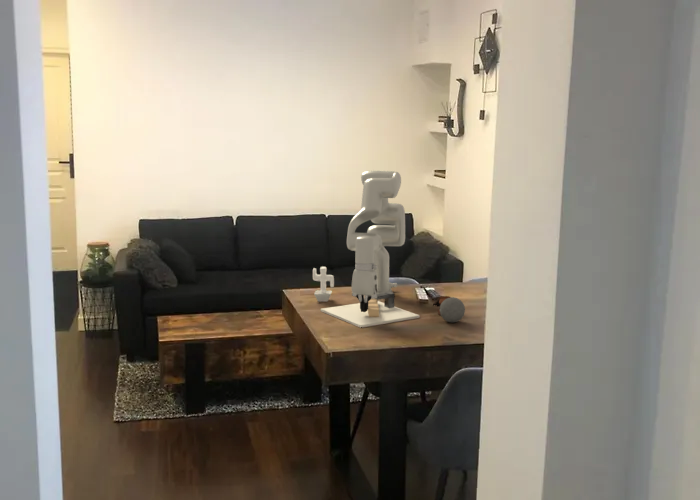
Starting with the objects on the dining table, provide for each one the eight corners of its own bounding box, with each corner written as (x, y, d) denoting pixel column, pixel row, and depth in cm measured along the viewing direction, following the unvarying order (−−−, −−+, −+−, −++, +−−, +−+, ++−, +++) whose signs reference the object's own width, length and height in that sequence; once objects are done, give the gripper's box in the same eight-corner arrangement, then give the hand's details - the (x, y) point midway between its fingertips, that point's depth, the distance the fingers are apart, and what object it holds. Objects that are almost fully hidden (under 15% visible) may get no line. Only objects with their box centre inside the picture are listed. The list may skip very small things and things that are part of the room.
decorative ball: (447, 317, 309) (448, 293, 307) (469, 321, 303) (470, 297, 301) (434, 322, 301) (435, 297, 300) (456, 326, 295) (456, 301, 293)
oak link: (364, 301, 329) (364, 290, 328) (377, 301, 329) (377, 290, 328) (367, 316, 304) (367, 304, 303) (380, 316, 304) (381, 304, 303)
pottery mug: (431, 316, 313) (429, 297, 316) (438, 321, 321) (436, 302, 324) (459, 311, 308) (457, 292, 311) (465, 316, 317) (463, 297, 320)
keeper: (390, 305, 324) (390, 291, 323) (394, 307, 321) (394, 293, 320) (373, 308, 319) (373, 294, 318) (377, 309, 316) (377, 295, 315)
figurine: (332, 302, 332) (333, 269, 330) (311, 301, 333) (311, 268, 331) (334, 298, 339) (334, 265, 337) (313, 298, 340) (313, 265, 338)
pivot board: (377, 302, 333) (377, 300, 333) (419, 317, 308) (419, 315, 308) (320, 311, 317) (320, 308, 317) (360, 327, 292) (360, 325, 292)
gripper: (385, 266, 304) (384, 311, 307) (351, 263, 310) (351, 307, 313) (378, 270, 297) (377, 315, 300) (343, 266, 303) (343, 311, 307)
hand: (364, 311), depth 307 cm, fingers closed
